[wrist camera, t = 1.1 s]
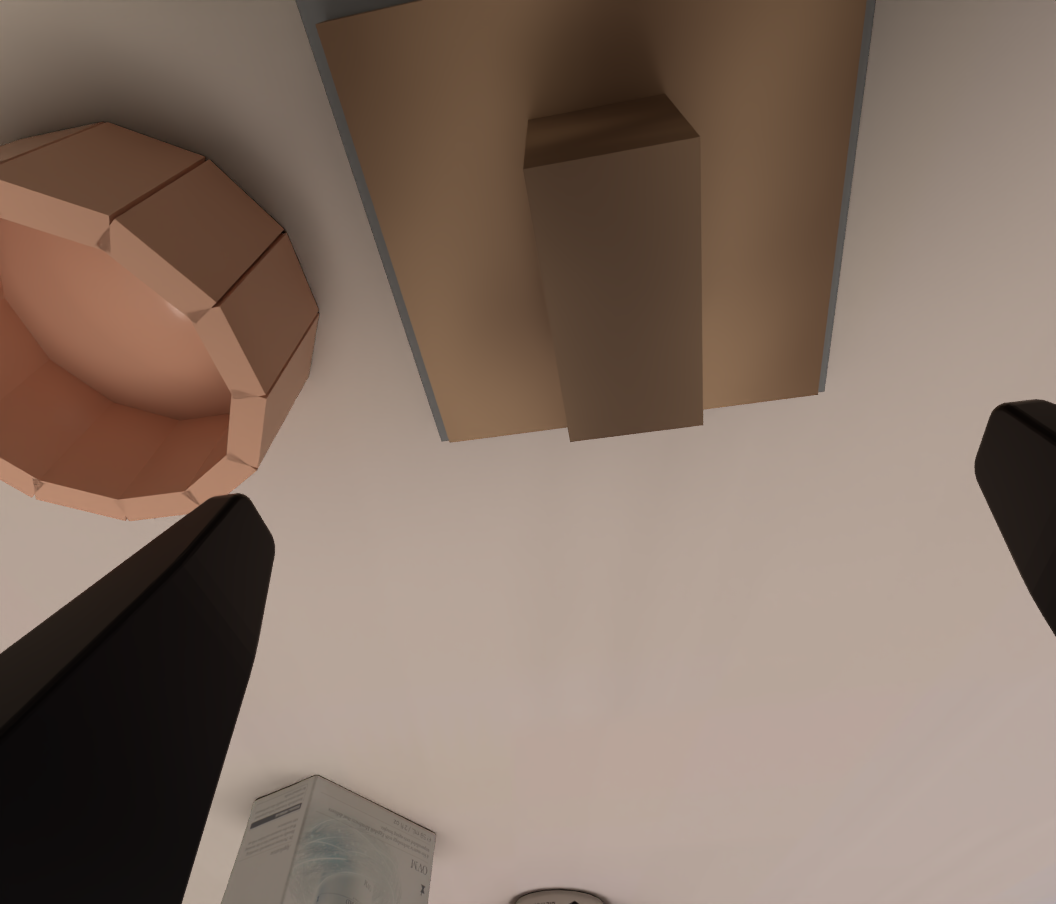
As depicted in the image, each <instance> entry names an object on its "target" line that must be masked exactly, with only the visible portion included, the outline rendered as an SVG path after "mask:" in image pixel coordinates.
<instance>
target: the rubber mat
mask: <svg viewBox="0 0 1056 904" xmlns="http://www.w3.org/2000/svg"><path fill="white" fill-rule="evenodd" d="M412 1H417V0H296V3H297V6H298V9H299V12H300V15H301V18H302V21H303V24H304V27H305V30H306V33H307V36H308V39H309V42H310V45H311V48H312V51H313V55H314V58H315V61H316V64H317V67H318V70H319V73H320V76H321V79H322V82H323V85H324V88H325V91H326V94H327V97H328V100H329V103H330V106H331V109H332V112H333V115H334V118H335V121H336V124H337V127H338V130H339V133H340V136H341V139H342V142H343V145H344V148H345V151H346V154H347V157H348V160H349V163H350V166H351V169H352V172H353V175H354V178H355V181H356V184H357V187H358V190H359V193H360V196H361V199H362V202H363V205H364V208H365V212H366V215H367V218H368V221H369V224H370V227H371V230H372V233H373V236H374V239H375V242H376V245H377V248H378V251H379V254H380V257H381V260H382V263H383V266H384V269H385V272H386V275H387V278H388V281H389V284H390V287H391V290H392V293H393V296H394V299H395V302H396V305H397V308H398V311H399V314H400V317H401V320H402V323H403V326H404V329H405V332H406V335H407V338H408V341H409V344H410V347H411V350H412V353H413V356H414V359H415V362H416V365H417V369H418V372H419V375H420V378H421V381H422V384H423V387H424V390H425V393H426V396H427V399H428V402H429V405H430V408H431V411H432V414H433V417H434V420H435V423H436V426H437V429H438V432H439V435H440V438H441V441H449V439H448V436H447V433H446V429H445V426H444V423H443V420H442V417H441V414H440V411H439V408H438V405H437V401H436V398H435V395H434V392H433V389H432V386H431V383H430V380H429V377H428V373H427V370H426V367H425V364H424V361H423V358H422V355H421V352H420V349H419V345H418V342H417V339H416V336H415V333H414V330H413V327H412V324H411V321H410V317H409V314H408V311H407V308H406V305H405V302H404V299H403V296H402V293H401V290H400V286H399V283H398V280H397V277H396V274H395V271H394V268H393V265H392V262H391V258H390V255H389V252H388V249H387V246H386V243H385V240H384V237H383V234H382V230H381V227H380V224H379V221H378V218H377V215H376V212H375V209H374V206H373V202H372V199H371V196H370V193H369V190H368V187H367V184H366V181H365V178H364V175H363V171H362V168H361V165H360V162H359V159H358V156H357V153H356V150H355V147H354V143H353V140H352V137H351V134H350V131H349V128H348V125H347V122H346V119H345V115H344V112H343V109H342V106H341V103H340V100H339V97H338V94H337V91H336V87H335V84H334V81H333V78H332V75H331V72H330V69H329V66H328V63H327V59H326V56H325V53H324V50H323V47H322V44H321V41H320V38H319V35H318V32H317V28H316V25H315V24H318V23H321V22H324V21H327V20H331V19H336V18H340V17H345V16H349V15H354V14H358V13H363V12H367V11H372V10H376V9H381V8H385V7H390V6H394V5H399V4H403V3H408V2H412ZM875 3H876V0H867V2H866V11H865V19H864V27H863V35H862V43H861V51H860V59H859V67H858V75H857V83H856V91H855V99H854V107H853V115H852V123H851V131H850V139H849V147H848V155H847V163H846V172H845V180H844V188H843V196H842V204H841V212H840V220H839V228H838V236H837V244H836V252H835V260H834V268H833V276H832V284H831V292H830V300H829V308H828V316H827V324H826V332H825V341H824V349H823V357H822V365H821V373H820V381H819V389H818V392H824V391H825V383H826V376H827V368H828V360H829V353H830V345H831V338H832V330H833V322H834V315H835V307H836V300H837V292H838V284H839V277H840V269H841V261H842V254H843V246H844V239H845V231H846V223H847V216H848V208H849V201H850V193H851V185H852V178H853V170H854V163H855V155H856V147H857V140H858V132H859V125H860V117H861V109H862V102H863V94H864V87H865V79H866V71H867V64H868V56H869V49H870V41H871V33H872V26H873V18H874V10H875Z"/></svg>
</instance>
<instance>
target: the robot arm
mask: <svg viewBox="0 0 1056 904" xmlns="http://www.w3.org/2000/svg"><path fill="white" fill-rule="evenodd" d="M974 468H975V475H976V479H977V482H978V484H979V486H980V488H981V491H982V493H983V495H984V497H985V499H986V501H987V503H988V506H989V508H990V510H991V512H992V514H993V516H994V519H995V521H996V523H997V525H998V527H999V529H1000V531H1001V534H1002V536H1003V538H1004V540H1005V542H1006V544H1007V547H1008V549H1009V551H1010V553H1011V555H1012V557H1013V560H1014V562H1015V564H1016V566H1017V568H1018V570H1019V572H1020V575H1021V577H1022V579H1023V581H1024V583H1025V585H1026V586H1027V588H1028V590H1029V592H1030V594H1031V596H1032V598H1033V600H1034V601H1035V603H1036V605H1037V606H1038V608H1039V610H1040V612H1041V613H1042V615H1043V617H1044V618H1045V620H1046V622H1047V623H1048V625H1049V626H1050V628H1051V630H1052V631H1053V633H1054V635H1055V636H1056V404H1053V403H1051V402H1048V401H1045V400H1038V399H1034V400H1025V401H1017V402H1008V403H1003V404H1001V405H998V406H997V407H996V408H995V409H994V410H993V411H992V413H991V415H990V418H989V420H988V423H987V426H986V429H985V432H984V435H983V438H982V441H981V444H980V447H979V450H978V452H977V455H976V459H975V467H974ZM274 556H275V544H274V540H273V537H272V535H271V533H270V531H269V529H268V528H267V526H266V524H265V523H264V521H263V520H262V518H261V516H260V515H259V513H258V511H257V510H256V508H255V506H254V505H253V503H252V501H251V500H250V499H249V498H248V497H247V496H246V495H244V494H240V493H236V494H228V495H219V496H214V497H211V498H209V499H207V500H206V501H205V502H203V503H202V504H201V505H199V506H198V507H197V508H195V509H194V510H193V511H191V512H190V513H189V514H187V515H186V516H185V517H183V518H182V519H181V520H179V521H178V522H177V523H175V524H174V525H172V526H171V527H170V528H168V529H167V530H166V531H164V532H163V533H162V534H160V535H159V536H158V537H156V538H155V539H154V540H152V541H151V542H150V543H148V544H147V545H146V546H144V547H143V548H142V549H140V550H139V551H138V552H136V553H135V554H134V555H132V556H131V557H130V558H128V559H127V560H125V561H124V562H123V563H121V564H120V565H119V566H117V567H116V568H115V569H113V570H112V571H111V572H109V573H108V574H107V575H105V576H104V577H103V578H101V579H100V580H99V581H97V582H96V583H95V584H93V585H92V586H91V587H89V588H88V589H87V590H85V591H84V592H83V593H81V594H80V595H78V596H77V597H76V598H74V599H73V600H72V601H70V602H69V603H68V604H66V605H65V606H64V607H62V608H61V609H60V610H58V611H57V612H56V613H54V614H53V615H52V616H50V617H49V618H48V619H46V620H45V621H44V622H42V623H41V624H40V625H38V626H37V627H36V628H34V629H33V630H32V631H30V632H29V633H27V634H26V635H25V636H23V637H22V638H21V639H19V640H18V641H17V642H15V643H14V644H13V645H11V646H10V647H9V648H7V649H6V650H5V651H3V652H2V653H1V654H0V904H182V901H183V897H184V894H185V891H186V887H187V884H188V881H189V877H190V874H191V871H192V867H193V864H194V861H195V857H196V854H197V851H198V847H199V844H200V841H201V837H202V834H203V831H204V827H205V824H206V821H207V817H208V814H209V811H210V808H211V804H212V801H213V798H214V794H215V791H216V788H217V784H218V781H219V778H220V774H221V771H222V768H223V764H224V761H225V758H226V754H227V751H228V748H229V744H230V741H231V738H232V734H233V731H234V728H235V724H236V721H237V718H238V714H239V711H240V708H241V704H242V701H243V698H244V694H245V691H246V688H247V684H248V681H249V678H250V674H251V670H252V667H253V663H254V659H255V655H256V650H257V646H258V642H259V636H260V631H261V626H262V620H263V615H264V609H265V604H266V599H267V593H268V588H269V583H270V577H271V572H272V567H273V561H274Z"/></svg>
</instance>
